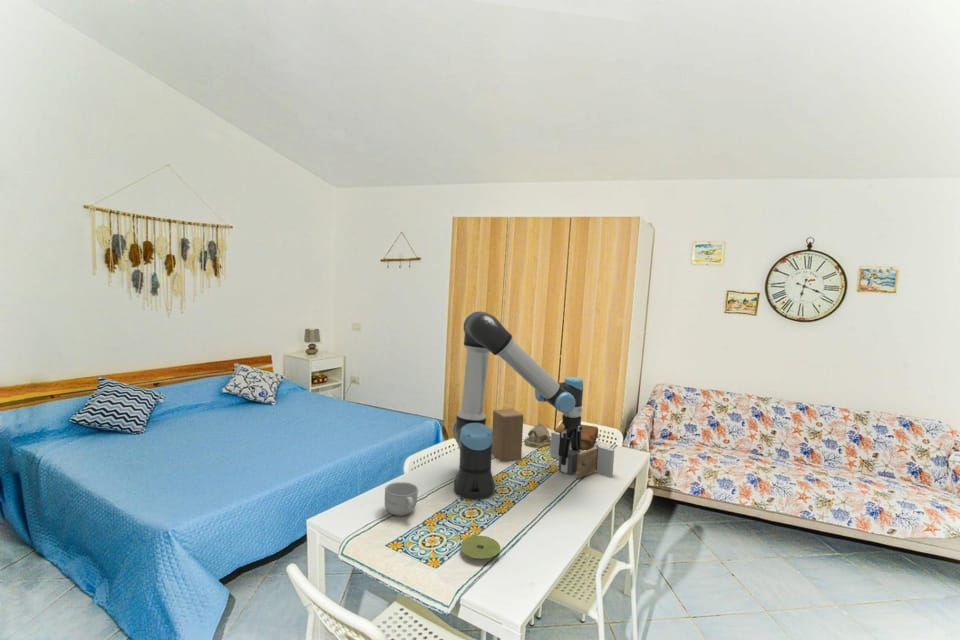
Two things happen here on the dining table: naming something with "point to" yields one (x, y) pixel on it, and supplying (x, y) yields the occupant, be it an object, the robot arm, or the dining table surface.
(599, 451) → the door frame
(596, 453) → the door
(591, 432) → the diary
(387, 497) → the teacup
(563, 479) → the dining table surface
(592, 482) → the dining table surface
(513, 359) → the robot arm
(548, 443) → the ceramic model
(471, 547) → the olive green disc
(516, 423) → the wooden block
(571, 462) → the block
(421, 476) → the dining table surface
